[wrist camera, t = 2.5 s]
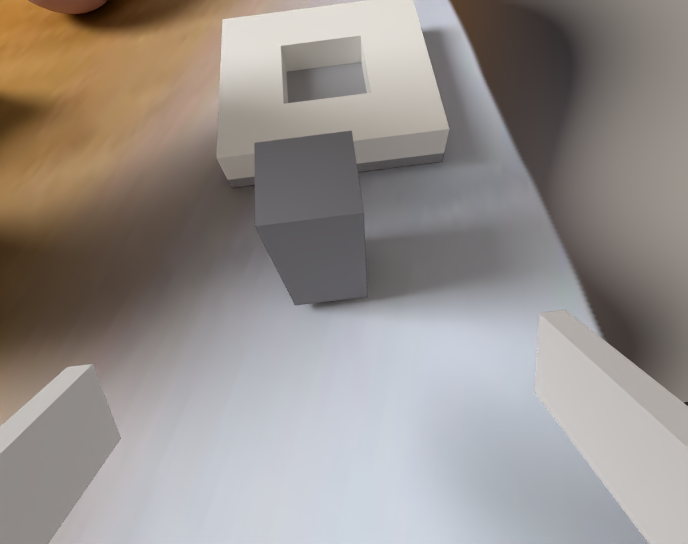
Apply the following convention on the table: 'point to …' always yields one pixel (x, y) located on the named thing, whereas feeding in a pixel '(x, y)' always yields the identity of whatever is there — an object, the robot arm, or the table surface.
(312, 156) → the plug
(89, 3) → the mortar and pestle
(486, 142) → the table surface
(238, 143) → the socket
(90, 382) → the robot arm
